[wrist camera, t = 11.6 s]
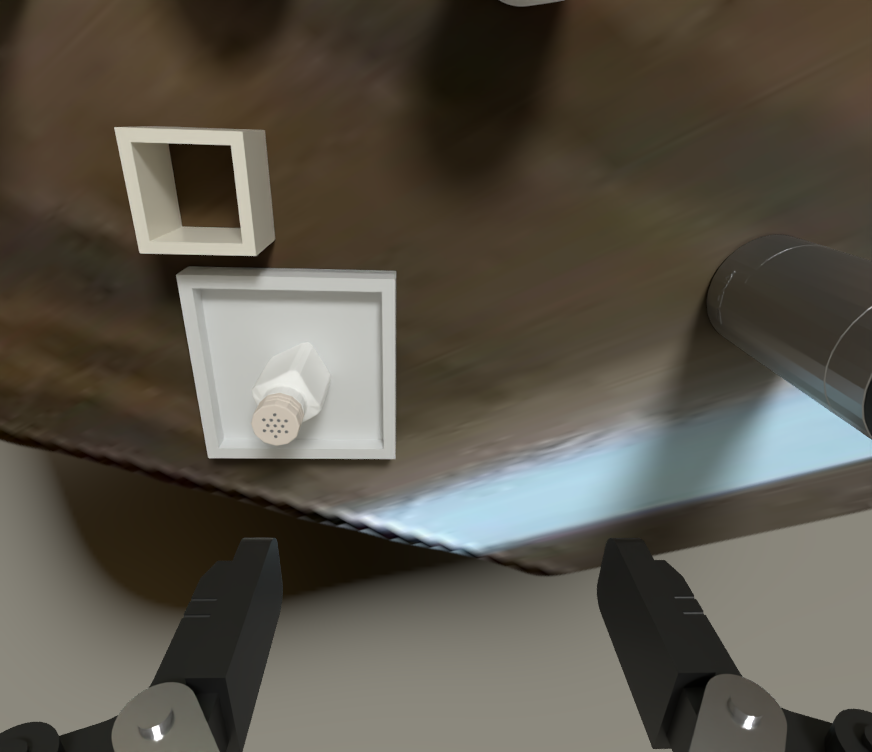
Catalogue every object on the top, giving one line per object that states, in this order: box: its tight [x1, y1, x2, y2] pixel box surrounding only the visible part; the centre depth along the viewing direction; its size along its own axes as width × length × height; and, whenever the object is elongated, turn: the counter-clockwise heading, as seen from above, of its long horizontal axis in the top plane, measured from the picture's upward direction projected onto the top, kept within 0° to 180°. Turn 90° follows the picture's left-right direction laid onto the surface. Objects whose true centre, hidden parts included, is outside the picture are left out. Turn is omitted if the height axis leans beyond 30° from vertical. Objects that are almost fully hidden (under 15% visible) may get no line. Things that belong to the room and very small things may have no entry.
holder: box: [114, 126, 275, 256], centre depth 37 cm, size 8×8×6 cm
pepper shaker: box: [251, 342, 331, 446], centre depth 40 cm, size 4×4×10 cm
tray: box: [176, 266, 396, 459], centre depth 44 cm, size 16×16×2 cm
